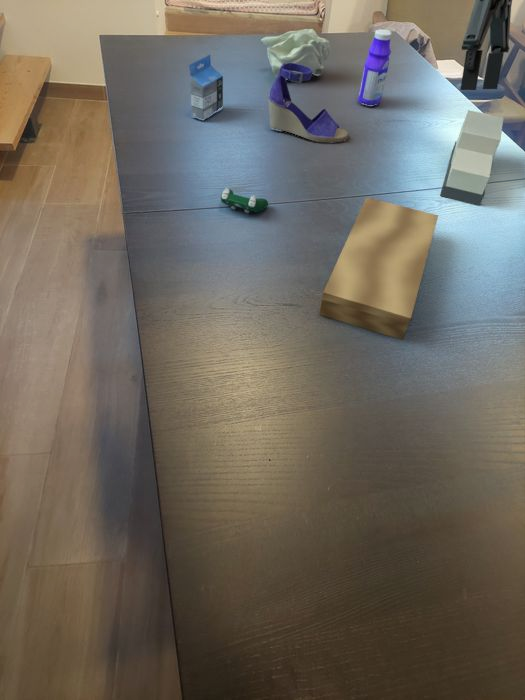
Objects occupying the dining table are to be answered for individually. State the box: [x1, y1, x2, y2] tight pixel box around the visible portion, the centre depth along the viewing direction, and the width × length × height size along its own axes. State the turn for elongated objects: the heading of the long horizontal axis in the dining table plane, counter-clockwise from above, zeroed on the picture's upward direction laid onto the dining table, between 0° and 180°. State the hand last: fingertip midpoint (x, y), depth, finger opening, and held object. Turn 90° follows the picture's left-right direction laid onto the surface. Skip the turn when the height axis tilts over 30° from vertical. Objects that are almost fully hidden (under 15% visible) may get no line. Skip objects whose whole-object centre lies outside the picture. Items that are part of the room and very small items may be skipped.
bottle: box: [357, 28, 393, 105], centre depth 133 cm, size 7×6×17 cm
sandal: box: [268, 63, 349, 144], centre depth 120 cm, size 8×20×15 cm, turn 71°
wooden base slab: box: [318, 196, 439, 341], centre depth 90 cm, size 14×30×5 cm, turn 159°
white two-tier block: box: [439, 109, 505, 206], centre depth 113 cm, size 8×22×10 cm, turn 159°
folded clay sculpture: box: [260, 28, 331, 79], centre depth 144 cm, size 18×13×16 cm
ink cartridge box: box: [189, 54, 224, 119], centre depth 125 cm, size 9×4×12 cm, turn 150°
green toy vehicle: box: [220, 187, 269, 214], centre depth 101 cm, size 9×4×6 cm
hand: (479, 89), depth 102 cm, fingers open, 13 cm apart
